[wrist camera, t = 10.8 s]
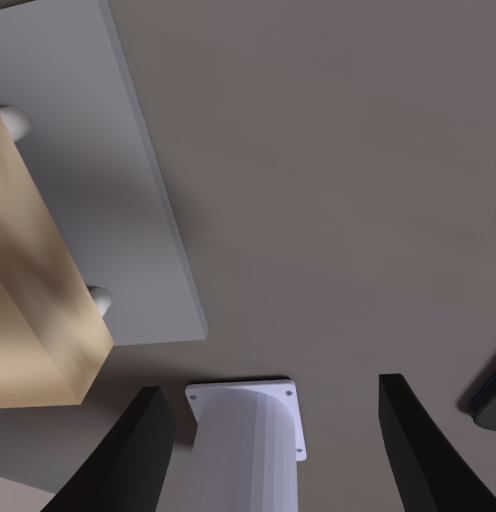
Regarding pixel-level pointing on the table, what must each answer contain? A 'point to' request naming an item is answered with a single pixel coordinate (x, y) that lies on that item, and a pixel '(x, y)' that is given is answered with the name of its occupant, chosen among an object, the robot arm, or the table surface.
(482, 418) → the handheld game console
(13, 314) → the shelf board
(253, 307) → the table surface
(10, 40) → the peg stand
